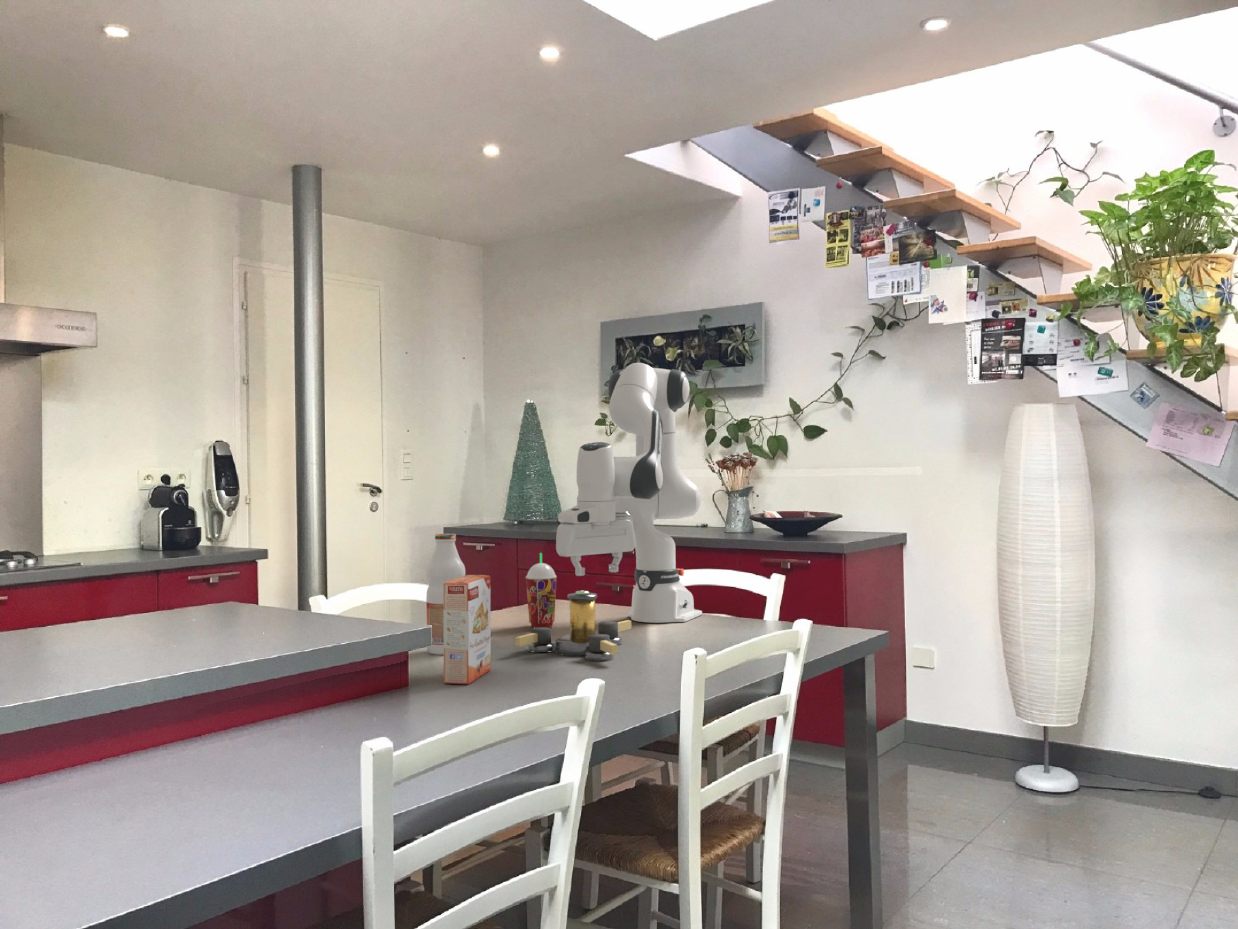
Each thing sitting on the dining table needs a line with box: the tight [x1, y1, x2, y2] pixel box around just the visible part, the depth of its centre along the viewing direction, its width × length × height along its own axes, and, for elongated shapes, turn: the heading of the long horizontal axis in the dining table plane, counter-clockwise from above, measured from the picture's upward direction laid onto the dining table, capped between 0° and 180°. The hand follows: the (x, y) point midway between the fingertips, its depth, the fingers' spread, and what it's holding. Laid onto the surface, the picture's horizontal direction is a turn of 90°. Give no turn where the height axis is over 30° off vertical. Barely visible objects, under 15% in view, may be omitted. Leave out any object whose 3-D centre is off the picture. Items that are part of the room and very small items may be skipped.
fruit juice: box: [425, 533, 466, 656], centre depth 235 cm, size 9×9×28 cm
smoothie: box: [525, 552, 557, 628], centre depth 267 cm, size 8×8×20 cm
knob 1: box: [514, 627, 552, 647], centre depth 232 cm, size 11×5×3 cm, turn 146°
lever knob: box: [597, 619, 632, 638], centre depth 244 cm, size 11×5×3 cm, turn 144°
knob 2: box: [588, 633, 619, 656], centre depth 222 cm, size 11×5×3 cm, turn 24°
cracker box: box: [443, 574, 492, 685], centre depth 207 cm, size 14×6×21 cm, turn 168°
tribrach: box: [527, 590, 622, 662], centre depth 236 cm, size 21×24×14 cm
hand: (597, 573), depth 226 cm, fingers open, 8 cm apart
